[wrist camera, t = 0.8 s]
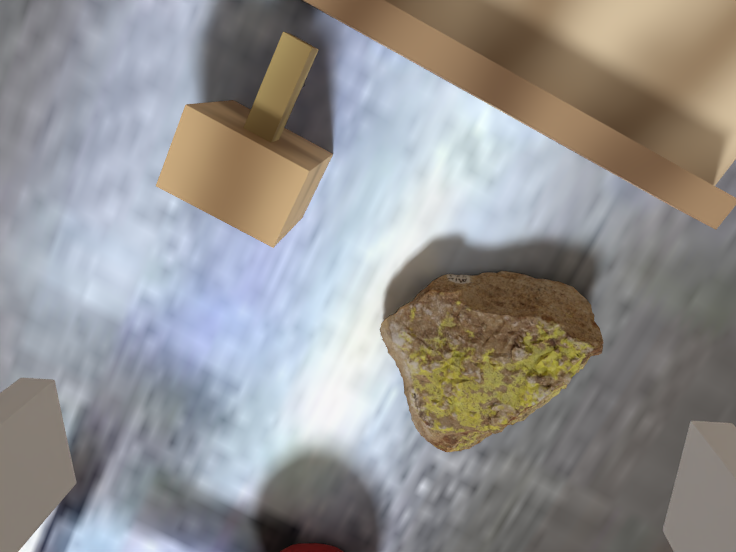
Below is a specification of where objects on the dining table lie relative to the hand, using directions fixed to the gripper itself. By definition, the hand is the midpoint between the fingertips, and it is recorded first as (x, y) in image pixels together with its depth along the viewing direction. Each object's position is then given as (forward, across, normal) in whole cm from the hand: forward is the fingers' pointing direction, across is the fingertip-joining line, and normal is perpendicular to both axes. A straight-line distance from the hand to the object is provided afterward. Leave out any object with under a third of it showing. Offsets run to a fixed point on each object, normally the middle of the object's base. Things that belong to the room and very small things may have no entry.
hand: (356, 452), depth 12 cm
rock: (+20, +4, -8) cm, 22 cm away
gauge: (+20, -6, +5) cm, 22 cm away
